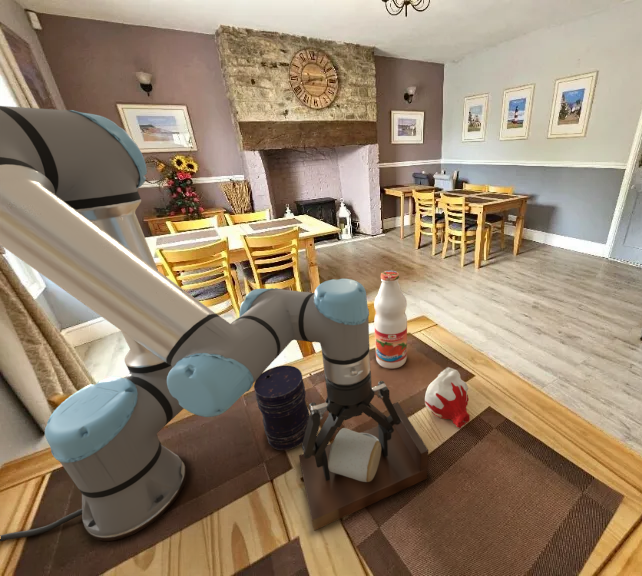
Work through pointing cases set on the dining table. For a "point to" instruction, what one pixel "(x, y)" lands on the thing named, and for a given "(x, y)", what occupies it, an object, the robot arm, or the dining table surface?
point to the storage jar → (282, 406)
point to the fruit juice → (390, 322)
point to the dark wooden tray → (352, 495)
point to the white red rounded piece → (448, 397)
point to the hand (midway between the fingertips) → (355, 461)
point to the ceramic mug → (355, 455)
